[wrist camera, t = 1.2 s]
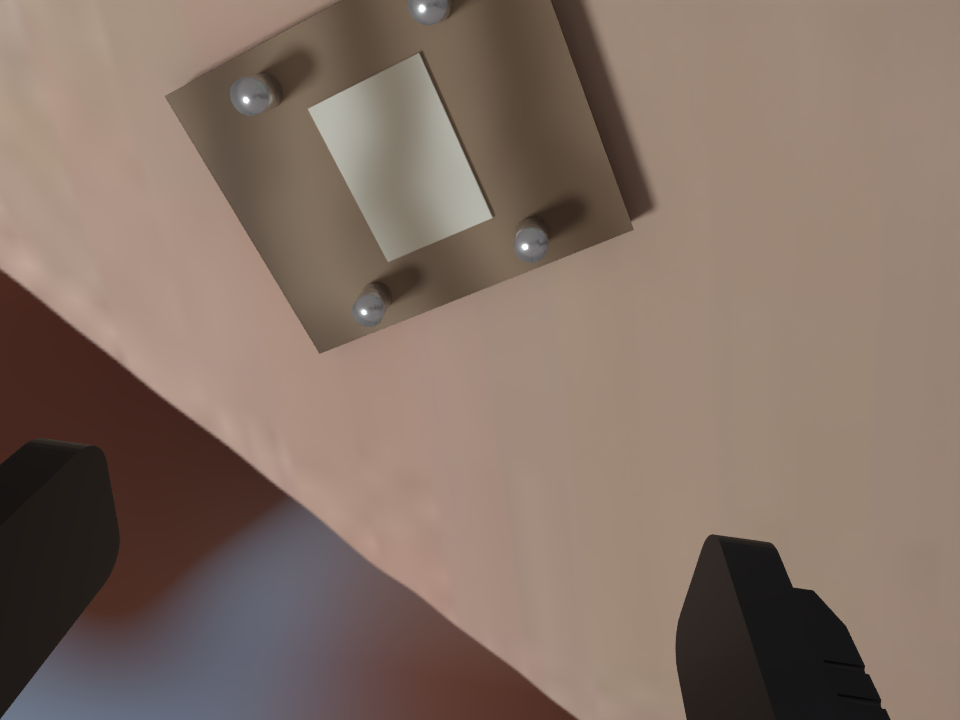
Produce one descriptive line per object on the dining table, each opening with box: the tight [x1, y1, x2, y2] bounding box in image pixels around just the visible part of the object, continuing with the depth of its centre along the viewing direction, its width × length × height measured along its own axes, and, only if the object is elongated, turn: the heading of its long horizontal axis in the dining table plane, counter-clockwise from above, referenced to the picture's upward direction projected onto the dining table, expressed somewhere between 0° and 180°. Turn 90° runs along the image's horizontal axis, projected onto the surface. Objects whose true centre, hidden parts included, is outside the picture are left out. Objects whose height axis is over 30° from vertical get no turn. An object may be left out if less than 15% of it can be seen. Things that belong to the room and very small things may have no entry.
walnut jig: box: [165, 0, 634, 353], centre depth 29 cm, size 16×13×3 cm
